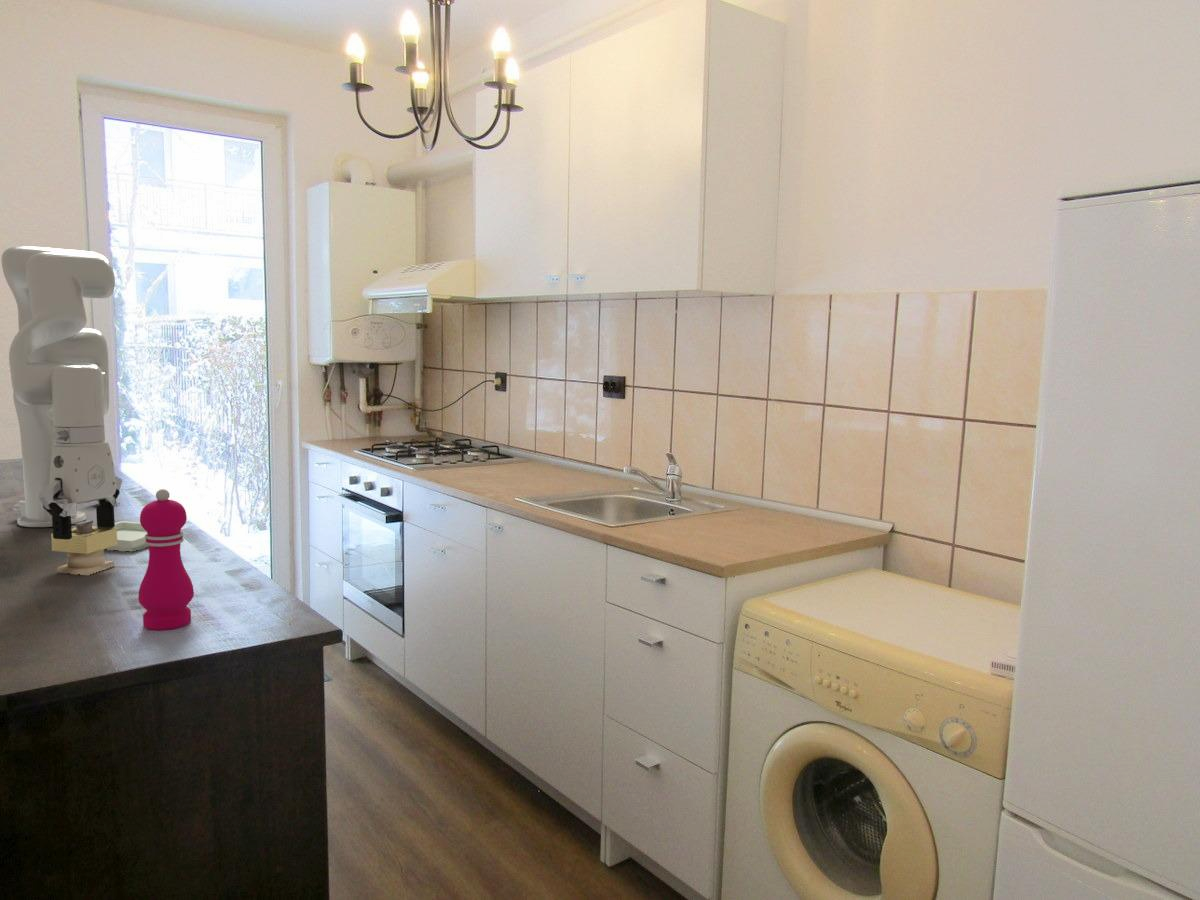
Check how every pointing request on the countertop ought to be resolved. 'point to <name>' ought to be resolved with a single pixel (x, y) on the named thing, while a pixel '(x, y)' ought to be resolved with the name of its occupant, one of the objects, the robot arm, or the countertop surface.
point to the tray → (129, 536)
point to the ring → (86, 541)
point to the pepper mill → (165, 566)
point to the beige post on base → (85, 556)
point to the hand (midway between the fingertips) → (85, 532)
